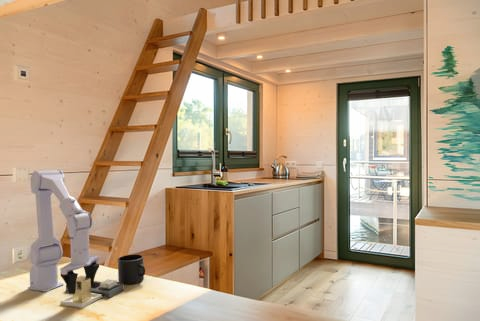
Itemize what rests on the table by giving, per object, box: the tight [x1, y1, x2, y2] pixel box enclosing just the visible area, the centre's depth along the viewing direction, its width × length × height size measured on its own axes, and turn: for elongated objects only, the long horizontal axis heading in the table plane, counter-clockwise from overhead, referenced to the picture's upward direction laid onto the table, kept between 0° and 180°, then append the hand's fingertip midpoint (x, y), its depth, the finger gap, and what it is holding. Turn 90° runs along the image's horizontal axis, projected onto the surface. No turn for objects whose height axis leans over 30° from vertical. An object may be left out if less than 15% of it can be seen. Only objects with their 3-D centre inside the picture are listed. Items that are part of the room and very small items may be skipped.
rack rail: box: [65, 275, 124, 299], centre depth 132 cm, size 20×7×4 cm, turn 68°
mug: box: [117, 253, 146, 285], centre depth 141 cm, size 9×12×9 cm
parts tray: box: [60, 293, 103, 309], centre depth 123 cm, size 9×9×1 cm
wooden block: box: [72, 277, 91, 303], centre depth 122 cm, size 4×4×7 cm
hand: (81, 289), depth 122 cm, fingers open, 7 cm apart
